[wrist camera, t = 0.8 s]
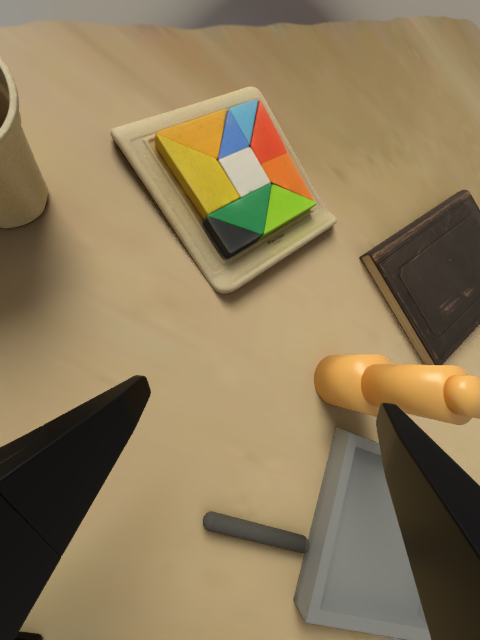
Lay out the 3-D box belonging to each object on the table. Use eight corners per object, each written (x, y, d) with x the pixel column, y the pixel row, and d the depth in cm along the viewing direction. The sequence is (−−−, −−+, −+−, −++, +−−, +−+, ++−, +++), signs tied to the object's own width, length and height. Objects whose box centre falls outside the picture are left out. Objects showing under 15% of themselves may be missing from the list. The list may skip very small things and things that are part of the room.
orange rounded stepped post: (348, 412, 26) (501, 455, 14) (308, 395, 25) (438, 427, 13) (359, 365, 27) (507, 370, 16) (321, 348, 26) (451, 339, 14)
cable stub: (302, 548, 22) (309, 558, 21) (199, 522, 20) (201, 532, 19) (306, 533, 23) (313, 542, 22) (205, 506, 20) (207, 515, 19)
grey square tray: (417, 623, 25) (438, 645, 23) (293, 599, 21) (306, 622, 20) (438, 466, 29) (458, 474, 27) (336, 426, 25) (350, 432, 23)
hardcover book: (500, 284, 38) (520, 280, 36) (420, 367, 31) (439, 368, 29) (449, 196, 38) (466, 187, 36) (355, 259, 30) (369, 251, 28)
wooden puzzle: (220, 302, 24) (229, 293, 21) (106, 139, 23) (97, 103, 20) (332, 227, 30) (353, 210, 27) (245, 94, 29) (255, 60, 26)
